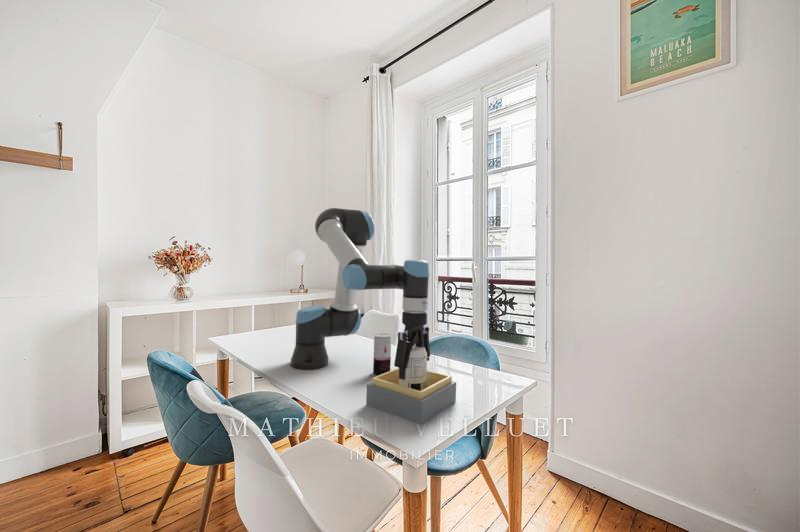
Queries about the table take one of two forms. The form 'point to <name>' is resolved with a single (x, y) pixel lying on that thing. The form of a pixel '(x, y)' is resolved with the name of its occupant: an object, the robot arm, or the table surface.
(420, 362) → the supplement can
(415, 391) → the inner crate
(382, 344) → the beverage can
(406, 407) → the outer crate
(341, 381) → the table surface
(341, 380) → the table surface
